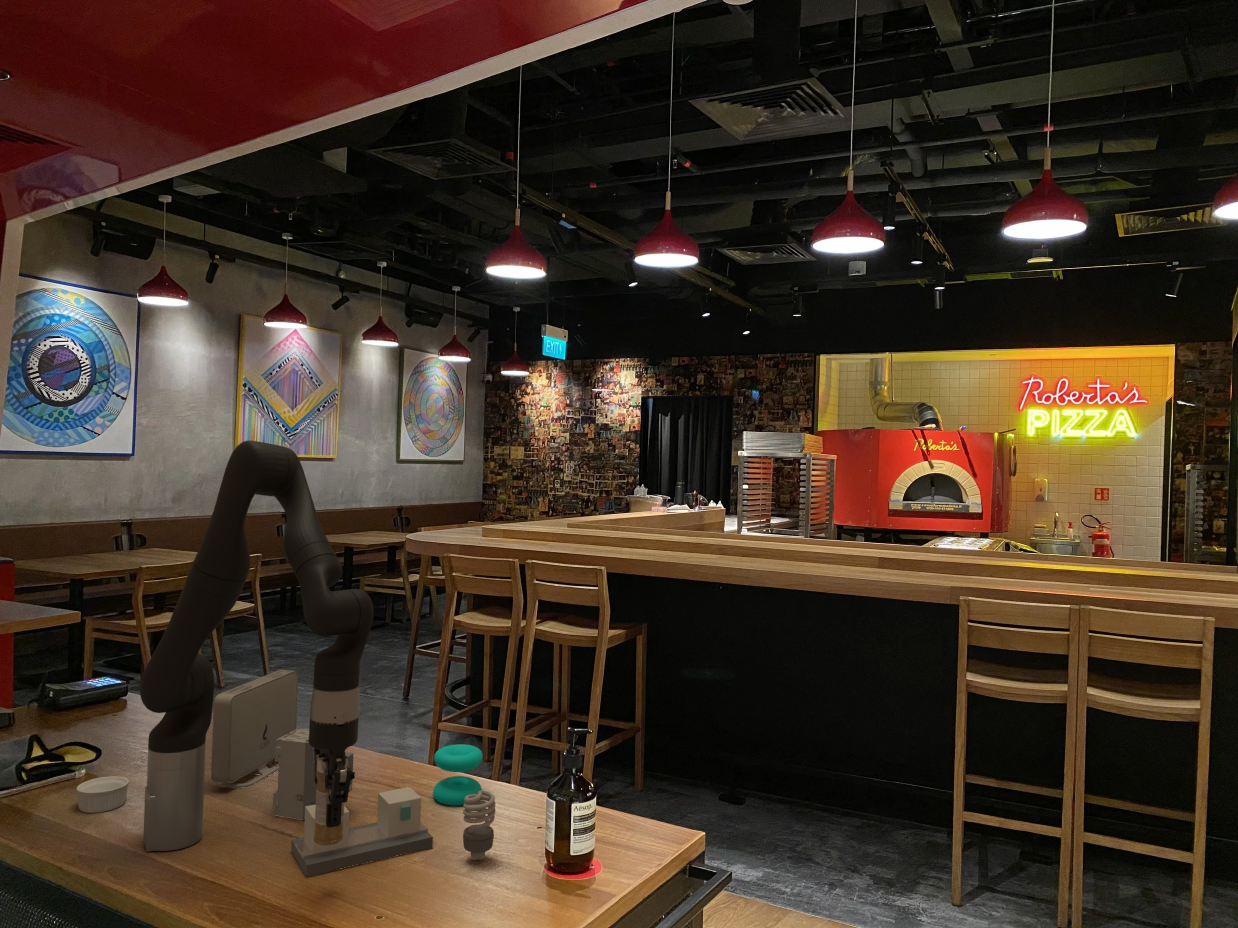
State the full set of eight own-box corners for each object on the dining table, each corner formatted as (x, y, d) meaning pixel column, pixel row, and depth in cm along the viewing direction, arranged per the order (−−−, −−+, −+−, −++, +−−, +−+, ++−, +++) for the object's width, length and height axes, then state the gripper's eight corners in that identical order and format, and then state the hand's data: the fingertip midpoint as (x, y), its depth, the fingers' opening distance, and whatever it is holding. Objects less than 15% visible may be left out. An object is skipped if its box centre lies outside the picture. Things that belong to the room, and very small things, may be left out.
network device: (236, 795, 174) (240, 698, 174) (198, 791, 176) (202, 694, 176) (304, 755, 199) (307, 669, 200) (270, 751, 201) (273, 667, 201)
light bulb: (479, 850, 153) (481, 783, 153) (500, 860, 150) (502, 791, 150) (454, 860, 149) (457, 792, 149) (476, 871, 145) (478, 800, 145)
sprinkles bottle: (334, 831, 140) (338, 750, 140) (348, 841, 137) (352, 757, 137) (307, 839, 137) (312, 756, 137) (321, 849, 134) (325, 763, 134)
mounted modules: (313, 855, 143) (314, 820, 144) (303, 840, 149) (305, 806, 149) (421, 832, 154) (422, 799, 154) (408, 818, 160) (409, 786, 160)
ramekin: (66, 808, 166) (66, 786, 166) (111, 793, 173) (112, 772, 173) (93, 818, 161) (93, 795, 161) (138, 802, 169) (138, 781, 169)
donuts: (424, 751, 175) (456, 739, 184) (422, 800, 175) (455, 785, 184) (461, 761, 170) (492, 748, 179) (459, 811, 170) (491, 795, 179)
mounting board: (306, 876, 141) (306, 864, 141) (291, 850, 150) (291, 839, 150) (432, 847, 153) (432, 836, 153) (411, 825, 163) (411, 815, 163)
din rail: (303, 858, 143) (303, 855, 143) (294, 845, 148) (294, 842, 148) (427, 831, 156) (427, 828, 156) (416, 819, 161) (416, 817, 161)
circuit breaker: (339, 825, 162) (342, 746, 162) (272, 816, 165) (275, 739, 165) (359, 809, 169) (361, 734, 169) (294, 802, 172) (297, 727, 172)
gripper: (300, 704, 141) (294, 807, 141) (322, 729, 129) (316, 842, 129) (345, 700, 145) (340, 800, 145) (371, 723, 133) (365, 832, 133)
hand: (329, 819), depth 137 cm, fingers closed on sprinkles bottle, 4 cm apart
